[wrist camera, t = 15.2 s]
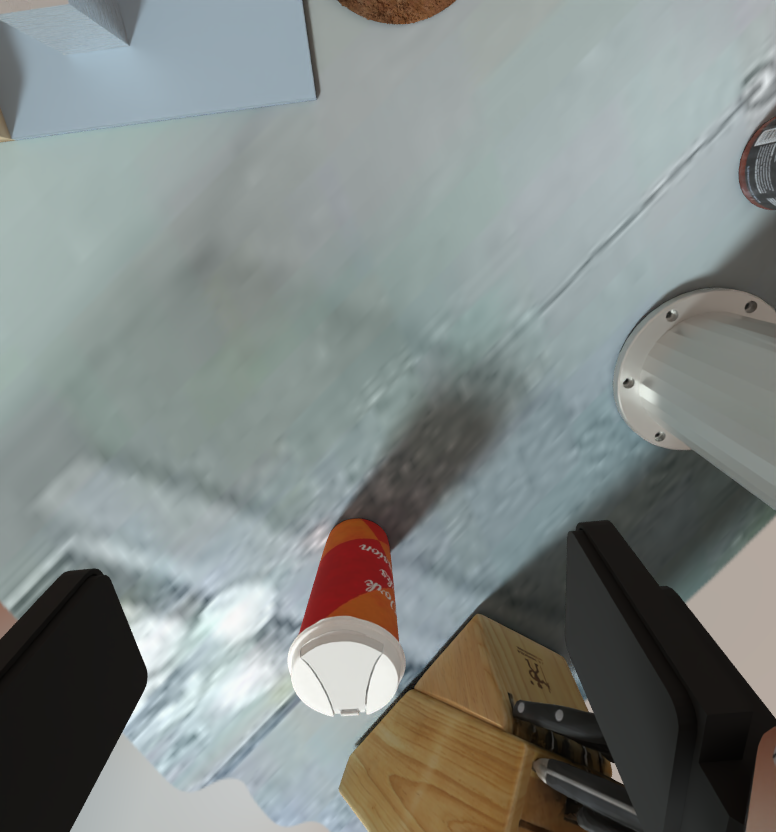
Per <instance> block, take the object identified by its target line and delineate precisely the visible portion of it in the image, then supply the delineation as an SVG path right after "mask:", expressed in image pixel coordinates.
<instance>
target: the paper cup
mask: <svg viewBox="0 0 776 832" xmlns="http://www.w3.org/2000/svg"><path fill="white" fill-rule="evenodd" d="M288 668H289V671H290V674H291V680H292V684H293V688H294V690H295V692H296V694H297V695H298V697H299V698H300V699H301V700H302V701H303V702H304V703H305V704H306V705H307V706H309V707H310V708H312V709H313V710H315V711H317V712H319V713H322V714H325V715H328V716H334V712H335V714H337V713H341V716H352V715H359V712H365V709H366V712H367V715H368V714H371V713H374V712H376V711H378V710H379V709H381V708H382V707H384V706H385V705H386V704H387V703H388V702H389V701H390V700H391V699H392V697H393V696H394V695H395V693H396V690H397V688H398V685H399V683H400V681H401V679H402V677H403V675H404V671H405V655H404V652H403V649H402V647H401V645H400V644H399V637H398V626H397V615H396V604H395V594H394V583H393V573H392V564H391V554H390V547H389V541H388V538H387V535H386V533H385V532H384V530H383V529H382V528H381V527H380V526H379V525H377V524H376V523H374V522H372V521H370V520H366V519H361V518H354V519H348V520H345V521H343V522H341V523H339V524H338V525H336V526H335V527H334V528H333V530H332V531H331V532H330V534H329V537H328V539H327V542H326V545H325V548H324V551H323V554H322V558H321V561H320V564H319V567H318V571H317V574H316V578H315V581H314V584H313V588H312V591H311V595H310V598H309V601H308V605H307V608H306V612H305V615H304V619H303V622H302V625H301V629H300V632H299V635H298V636H297V637H296V638H295V640H294V641H293V643H292V645H291V647H290V650H289V653H288Z"/></svg>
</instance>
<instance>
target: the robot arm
mask: <svg viewBox="0 0 776 832" xmlns="http://www.w3.org/2000/svg"><path fill="white" fill-rule="evenodd" d="M668 312H669V313H668ZM667 313H668V315H667ZM666 315H667V316H666ZM625 379H626V381H625V382H624V380H625ZM613 391H614V399H615V402H616V406H617V409H618V412H619V413H620V415H621V416H622V418H623V420H624V421H625V423H626V424H627V425H628V426H629V427H630V428H631V429H632V430H633V431H634V432H635V433H636V434H638V435H639V436H640V437H642V438H643V439H644V440H646V441H648V442H650V443H652V444H653V445H656V446H659V447H663V448H667V449H671V450H694V451H695V452H696V453H698V454H699V455H701V456H702V457H703V458H705V459H706V460H707V461H709V462H710V463H711V464H713V465H714V466H715V467H717V468H718V469H720V470H721V471H722V472H724V473H725V474H726V475H728V476H729V477H730V478H732V479H733V480H735V481H736V482H737V483H739V484H740V485H741V486H743V487H744V488H745V489H747V490H748V491H750V492H751V493H752V494H754V495H755V496H756V497H758V498H759V499H760V500H762V501H763V502H764V503H766V504H767V505H769V506H770V507H771V508H773V509H774V510H775V511H776V311H775V310H774V309H773V307H772V306H770V305H769V304H768V303H766V302H765V301H764V300H762V299H761V298H759V297H757V296H754V295H752V294H750V293H747V292H744V291H739V290H734V289H727V288H706V289H698V290H694V291H691V292H688V293H684V294H681V295H679V296H677V297H675V298H673V299H671V300H669V301H667V302H665V303H663V304H662V305H660V306H659V307H658V308H656V309H655V310H653V311H652V312H651V313H649V314H648V315H647V316H646V317H645V318H644V319H643V320H642V321H641V322H640V323H639V324H638V325H637V326H636V328H635V329H634V330H633V332H632V333H631V334H630V336H629V337H628V338H627V340H626V342H625V344H624V346H623V348H622V350H621V352H620V354H619V356H618V360H617V363H616V366H615V369H614V378H613ZM565 640H566V646H567V649H568V653H569V655H570V658H571V660H572V663H573V665H574V667H575V670H576V672H577V674H578V677H579V679H580V681H581V684H582V686H583V689H584V691H585V693H586V696H587V698H588V700H589V703H590V705H591V708H592V710H593V712H594V715H595V717H596V719H597V722H598V724H599V727H600V729H601V731H602V734H603V736H604V738H605V741H606V743H607V746H608V748H609V750H610V753H611V755H612V757H613V760H614V762H615V765H616V767H617V769H618V772H619V774H620V776H621V779H622V781H623V783H624V786H625V788H626V791H627V793H628V795H629V798H630V800H631V802H632V805H633V807H634V810H635V812H636V814H637V817H638V819H639V821H640V824H641V826H642V829H643V831H644V832H776V719H775V717H774V716H773V715H772V713H771V712H770V711H769V710H768V708H767V707H766V706H765V704H764V703H763V702H762V701H761V699H760V698H759V697H758V696H757V694H756V693H755V692H754V690H753V689H752V688H751V687H750V685H749V684H748V683H747V682H746V680H745V679H744V678H743V677H742V675H741V674H740V673H739V672H738V670H737V669H736V668H735V666H734V665H733V664H732V663H731V661H730V660H729V659H728V657H727V656H726V655H725V654H724V652H723V651H722V650H721V649H720V647H719V646H718V645H717V643H716V642H715V641H714V640H713V638H712V637H711V636H710V634H709V633H708V632H707V631H706V629H705V628H704V627H703V626H702V624H701V623H700V622H699V621H698V619H697V618H696V617H695V615H694V614H693V613H692V612H691V610H690V609H689V608H688V607H687V605H686V604H685V603H684V601H683V600H682V599H681V598H680V596H679V595H678V594H677V593H676V592H675V591H674V590H673V589H672V588H670V587H668V586H659V585H658V584H657V582H656V581H655V580H654V578H653V577H652V576H651V574H650V573H649V572H648V570H647V569H646V568H645V566H644V565H643V564H642V562H641V561H640V560H639V558H638V557H637V556H636V555H635V553H634V552H633V551H632V549H631V548H630V547H629V545H628V544H627V543H626V541H625V540H624V539H623V537H622V536H621V535H620V533H619V532H618V531H617V529H616V528H615V527H614V525H613V524H612V523H611V522H610V521H608V520H602V521H592V522H581V523H578V524H577V527H576V531H569V532H568V537H567V571H566V609H565ZM147 677H148V676H147V669H146V666H145V664H144V661H143V659H142V656H141V654H140V651H139V649H138V646H137V644H136V641H135V639H134V636H133V634H132V631H131V629H130V626H129V624H128V621H127V619H126V616H125V614H124V612H123V609H122V607H121V604H120V602H119V599H118V597H117V594H116V592H115V589H114V587H113V584H112V582H111V580H110V578H109V577H108V576H107V575H103V573H102V572H101V571H100V570H99V569H84V570H73V571H67V572H64V573H63V574H62V575H61V576H60V577H59V578H58V579H57V580H56V581H55V582H54V583H53V584H52V585H51V586H50V587H49V588H48V589H47V590H46V591H45V592H44V594H43V595H42V596H41V597H40V598H39V599H38V600H37V601H36V602H35V603H34V604H33V605H32V606H31V607H30V608H29V609H28V611H27V612H26V613H25V614H24V615H23V616H22V617H21V618H20V619H19V620H18V621H17V622H16V623H15V625H13V627H12V628H11V629H10V630H9V631H8V632H7V633H6V634H5V635H4V636H3V637H2V638H1V639H0V832H70V830H71V828H72V826H73V824H74V822H75V821H76V819H77V817H78V815H79V813H80V811H81V809H82V807H83V806H84V803H85V802H86V800H87V798H88V796H89V794H90V792H91V790H92V788H93V787H94V785H95V783H96V781H97V779H98V777H99V775H100V773H101V771H102V770H103V768H104V766H105V764H106V762H107V760H108V758H109V756H110V754H111V752H112V751H113V749H114V747H115V745H116V743H117V741H118V739H119V737H120V735H121V733H122V732H123V730H124V728H125V726H126V724H127V722H128V720H129V718H130V716H131V714H132V713H133V711H134V709H135V707H136V705H137V703H138V701H139V699H140V697H141V695H142V694H143V692H144V690H145V687H146V684H147Z"/></svg>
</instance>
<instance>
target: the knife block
mask: <svg viewBox="0 0 776 832" xmlns="http://www.w3.org/2000/svg"><path fill="white" fill-rule="evenodd" d="M610 762H612V763H615V762H614V760H613V757H612V755H611V753H610V750H609V748H608V746H607V743H606V741H605V738H604V736H603V734H602V731H601V729H600V727H599V724H598V722H597V719H596V717H595V715H594V713H590V712H589V711H588V709H587V707H586V705H585V702H584V700H583V698H582V696H581V694H580V691H579V689H578V687H577V685H576V682H575V680H574V678H573V676H572V674H571V671H570V669H569V667H568V665H567V662H566V660H565V659H564V657H562V656H561V655H559V654H557V653H555V652H553V651H551V650H549V649H547V648H545V647H544V646H542V645H540V644H538V643H536V642H534V641H532V640H530V639H528V638H526V637H524V636H522V635H521V634H519V633H517V632H515V631H513V630H511V629H509V628H507V627H505V626H503V625H501V624H499V623H497V622H495V621H493V620H491V619H490V618H488V617H486V616H484V615H481V614H476V615H475V616H474V617H473V618H472V619H471V621H470V622H469V623H468V624H467V625H466V626H465V627H464V629H463V630H462V631H461V632H460V633H459V634H458V636H457V637H456V638H455V639H454V640H453V641H452V642H451V644H450V645H449V646H448V647H447V648H446V649H445V650H444V651H443V653H442V654H441V655H440V656H439V657H438V658H437V659H436V661H435V662H434V663H433V664H432V665H431V666H430V668H429V669H428V670H427V671H426V672H425V674H424V675H423V676H422V677H421V678H420V680H419V681H418V682H417V684H416V685H415V687H414V689H412V690H410V691H408V692H407V693H406V694H405V695H404V696H403V697H402V698H401V699H400V700H399V701H398V703H397V704H396V705H395V706H394V707H393V708H392V709H391V710H390V712H389V713H388V714H387V715H386V716H385V717H384V718H383V719H382V720H381V722H380V723H379V724H378V725H377V726H376V727H375V728H374V729H373V731H372V732H371V733H370V734H369V735H368V736H367V737H366V738H365V740H364V741H363V742H362V743H361V744H360V745H359V746H358V747H357V748H356V749H355V751H354V752H353V753H352V754H351V755H350V757H349V760H348V762H347V765H346V768H345V771H344V774H343V777H342V780H341V783H340V786H339V792H340V794H341V795H342V796H343V798H344V799H345V800H346V802H347V803H348V804H349V806H350V807H351V808H352V810H353V811H354V813H355V814H356V815H357V817H358V818H359V819H360V821H361V822H362V823H363V825H364V826H365V828H366V829H367V830H368V832H644V831H643V829H642V826H641V824H640V821H639V819H638V817H637V814H636V812H635V810H634V807H633V805H632V802H631V800H630V798H629V795H628V793H627V791H626V788H625V786H624V784H621V783H619V782H617V781H615V780H614V779H612V778H611V777H612V769H611V764H610Z"/></svg>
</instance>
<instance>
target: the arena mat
mask: <svg viewBox="0 0 776 832" xmlns="http://www.w3.org/2000/svg"><path fill="white" fill-rule="evenodd" d="M118 3H119V7H120V11H121V15H122V19H123V23H124V27H125V30H126V34H127V38H128V42H129V46H127V47H120V48H113V49H106V50H99V51H92V52H85V53H78V54H71V55H65V54H63V53H61V52H59V51H57V50H56V49H54V48H52V47H50V46H48V45H46V44H44V43H42V42H41V41H39V40H37V39H35V38H33V37H31V36H29V35H27V34H25V33H24V32H22V31H20V30H18V29H16V28H14V27H12V26H10V25H9V24H7V23H5V22H3V21H1V20H0V108H1V111H2V114H3V116H4V119H5V122H6V125H7V128H8V131H9V134H10V136H11V139H13V140H21V139H29V138H36V137H44V136H51V135H59V134H66V133H73V132H81V131H88V130H96V129H103V128H111V127H118V126H125V125H133V124H140V123H148V122H155V121H163V120H170V119H177V118H185V117H192V116H200V115H207V114H215V113H222V112H229V111H237V110H244V109H252V108H259V107H267V106H274V105H282V104H289V103H296V102H304V101H311V100H317V98H316V91H315V84H314V77H313V70H312V63H311V56H310V49H309V42H308V35H307V28H306V21H305V14H304V7H303V0H118Z"/></svg>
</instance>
